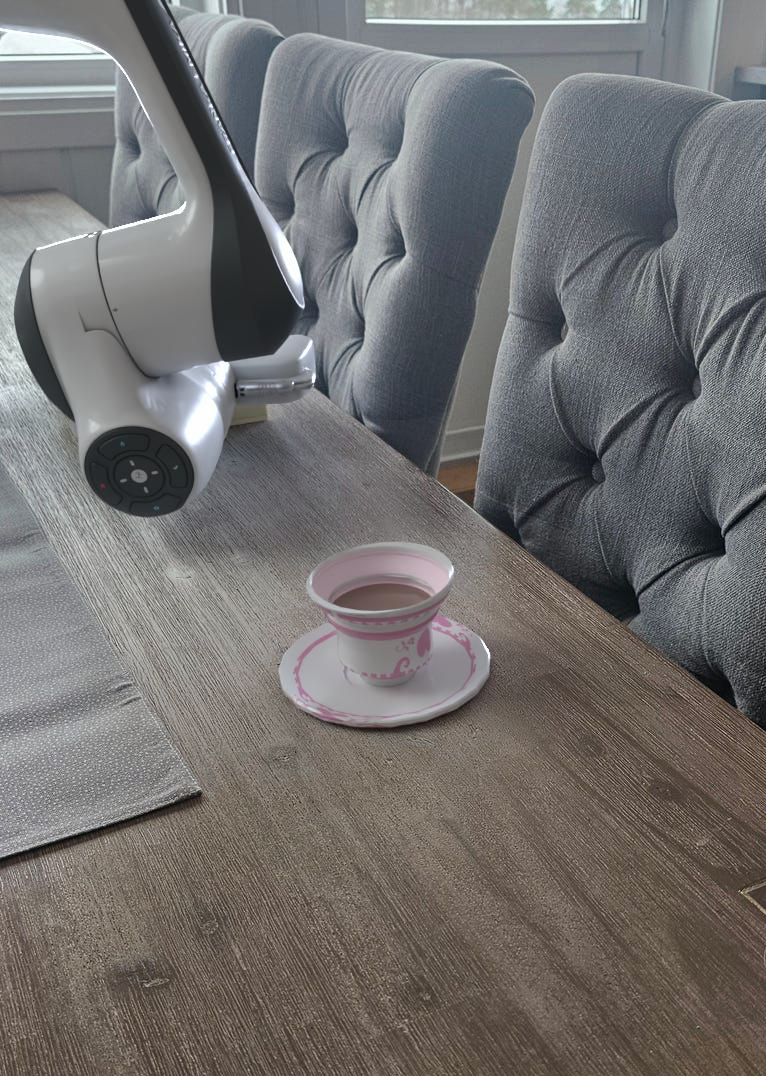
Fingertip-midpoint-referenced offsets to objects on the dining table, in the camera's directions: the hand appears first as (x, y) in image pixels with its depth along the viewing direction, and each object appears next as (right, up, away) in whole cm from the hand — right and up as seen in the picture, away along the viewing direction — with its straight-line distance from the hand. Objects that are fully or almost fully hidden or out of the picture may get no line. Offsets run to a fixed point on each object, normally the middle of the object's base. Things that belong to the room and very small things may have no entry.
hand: (202, 342), depth 98 cm
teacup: (+19, -29, -34) cm, 48 cm away
